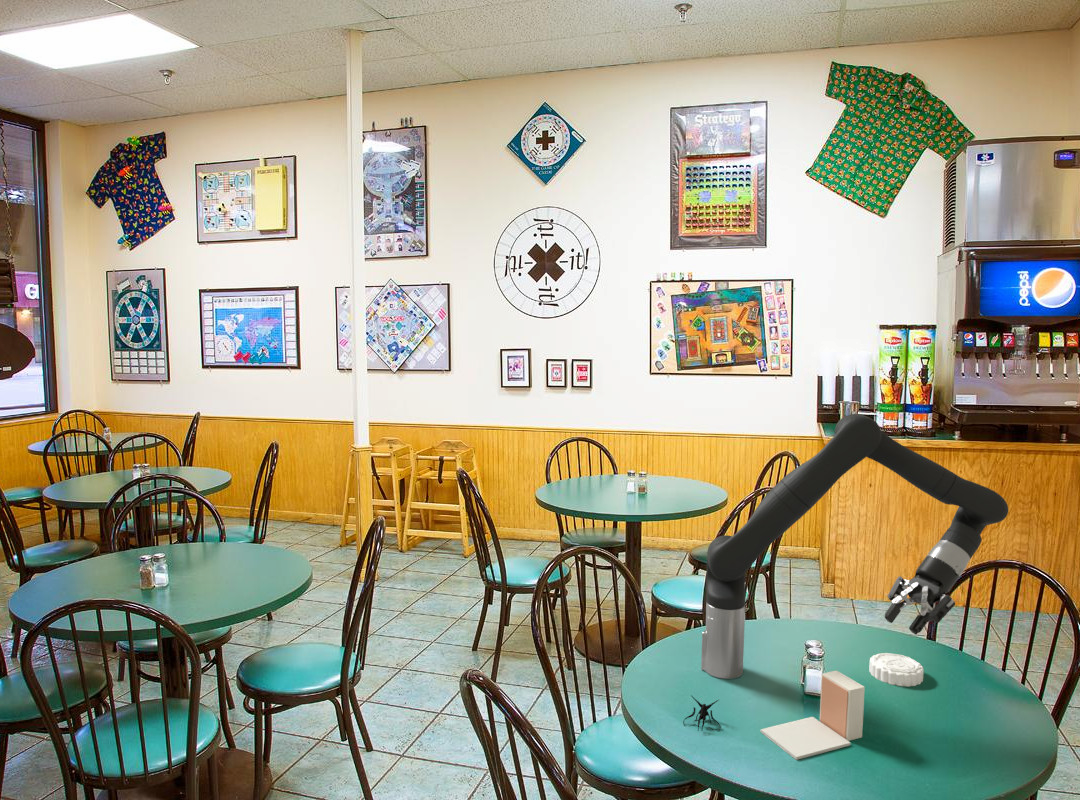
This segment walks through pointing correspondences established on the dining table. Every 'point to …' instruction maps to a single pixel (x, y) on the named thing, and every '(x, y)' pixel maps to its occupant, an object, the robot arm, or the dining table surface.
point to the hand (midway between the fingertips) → (900, 625)
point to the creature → (703, 714)
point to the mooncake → (896, 669)
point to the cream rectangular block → (842, 705)
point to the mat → (805, 737)
